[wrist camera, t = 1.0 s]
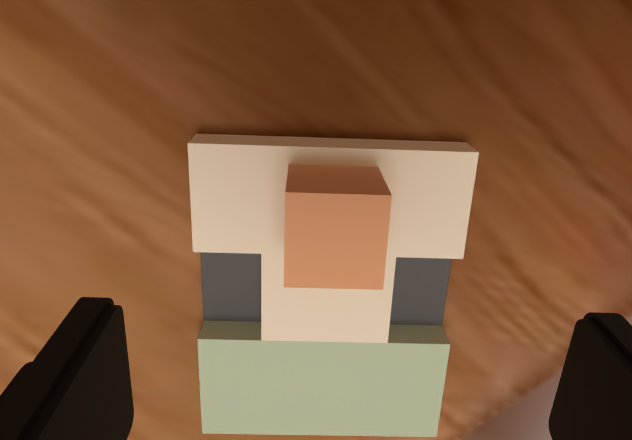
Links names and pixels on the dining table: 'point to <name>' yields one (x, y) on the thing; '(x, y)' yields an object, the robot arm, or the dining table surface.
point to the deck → (324, 291)
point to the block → (335, 227)
